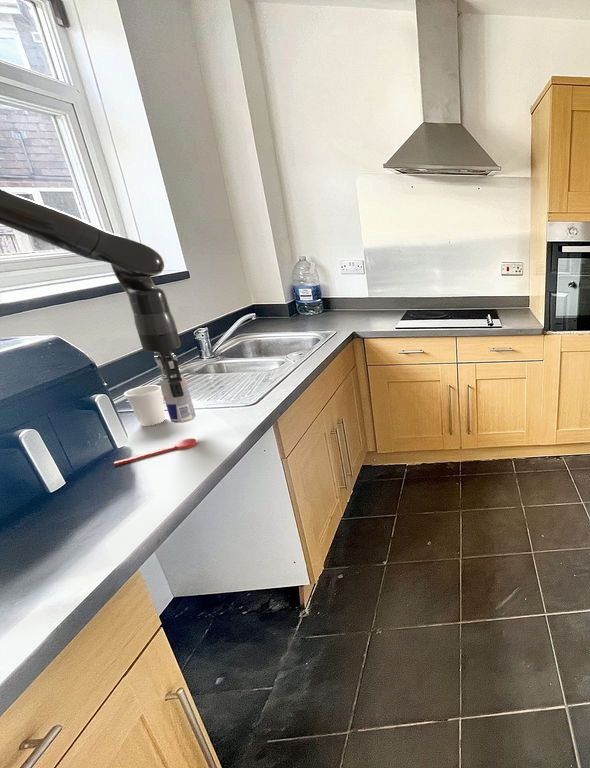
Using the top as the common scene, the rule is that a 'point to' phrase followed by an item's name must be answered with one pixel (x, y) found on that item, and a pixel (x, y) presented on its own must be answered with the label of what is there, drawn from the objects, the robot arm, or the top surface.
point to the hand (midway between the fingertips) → (176, 393)
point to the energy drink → (178, 401)
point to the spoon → (160, 451)
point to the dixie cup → (147, 404)
